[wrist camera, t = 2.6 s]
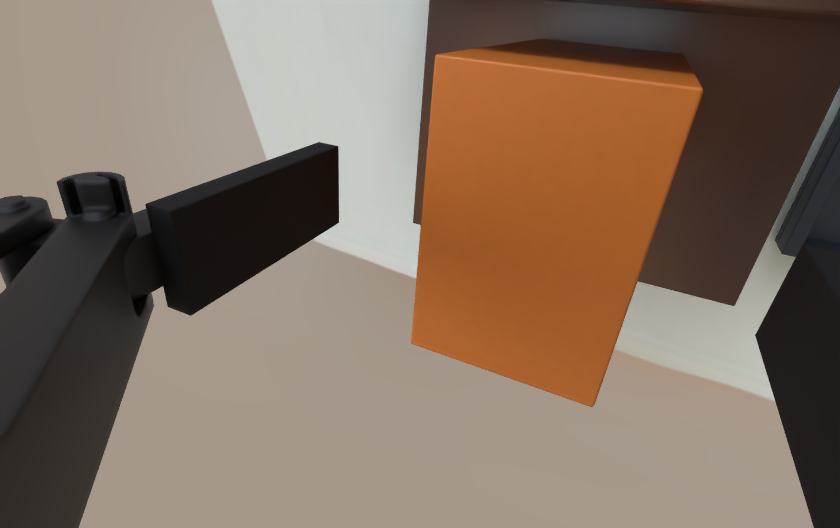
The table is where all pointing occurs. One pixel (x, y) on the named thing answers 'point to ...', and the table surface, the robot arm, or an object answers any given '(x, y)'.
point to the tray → (816, 202)
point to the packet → (544, 203)
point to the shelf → (715, 117)
